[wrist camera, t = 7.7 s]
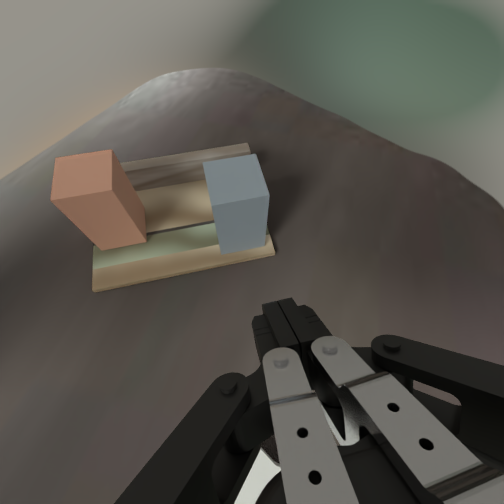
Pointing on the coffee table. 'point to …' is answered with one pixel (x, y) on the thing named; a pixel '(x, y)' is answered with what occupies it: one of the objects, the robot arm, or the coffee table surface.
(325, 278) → the coffee table surface
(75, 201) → the reddish brown block
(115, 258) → the wooden tray
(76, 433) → the coffee table surface
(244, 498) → the mounting plate
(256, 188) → the grey blue rectangular block
